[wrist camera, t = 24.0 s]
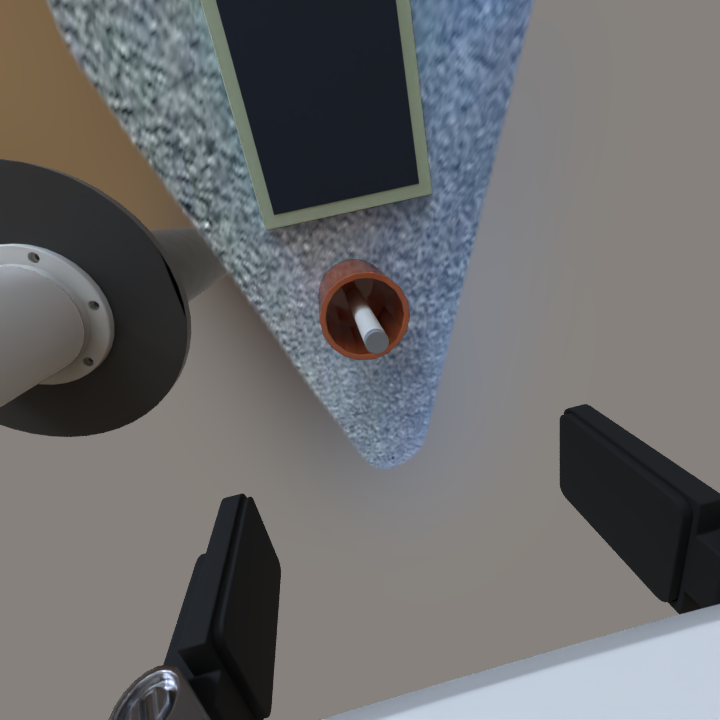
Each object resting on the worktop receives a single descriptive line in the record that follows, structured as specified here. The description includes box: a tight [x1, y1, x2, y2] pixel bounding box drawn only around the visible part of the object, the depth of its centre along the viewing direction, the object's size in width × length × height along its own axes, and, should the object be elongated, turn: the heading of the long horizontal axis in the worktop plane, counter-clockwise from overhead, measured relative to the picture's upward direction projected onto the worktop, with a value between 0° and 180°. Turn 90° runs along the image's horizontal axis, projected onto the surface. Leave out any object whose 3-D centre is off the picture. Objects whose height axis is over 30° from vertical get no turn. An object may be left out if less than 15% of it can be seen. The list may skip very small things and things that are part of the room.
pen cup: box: [318, 260, 410, 360], centre depth 30 cm, size 6×6×8 cm
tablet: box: [200, 0, 432, 230], centre depth 27 cm, size 14×18×1 cm
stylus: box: [346, 289, 389, 354], centre depth 28 cm, size 1×1×13 cm
